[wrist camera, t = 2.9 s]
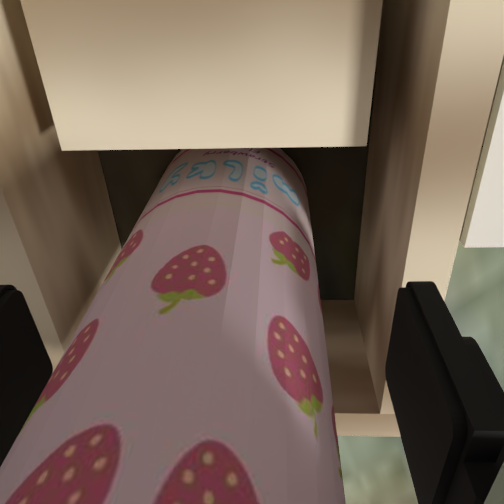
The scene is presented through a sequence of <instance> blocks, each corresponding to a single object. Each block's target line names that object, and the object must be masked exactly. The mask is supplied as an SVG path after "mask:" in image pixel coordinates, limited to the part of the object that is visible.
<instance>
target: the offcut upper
mask: <svg viewBox="0 0 504 504" xmlns="http://www.w3.org/2000/svg"><path fill="white" fill-rule="evenodd" d="M20 1H21V5H22V9H23V12H24V16H25V20H26V23H27V27H28V30H29V34H30V38H31V41H32V45H33V48H34V52H35V56H36V59H37V63H38V66H39V70H40V74H41V77H42V81H43V84H44V88H45V92H46V95H47V99H48V103H49V106H50V110H51V113H52V117H53V121H54V124H55V128H56V131H57V135H58V139H59V142H60V146H61V149H62V151H71V150H142V149H212V148H283V147H353V146H367V138H368V129H369V120H370V111H371V102H372V93H373V84H374V75H375V66H376V57H377V49H378V40H379V31H380V22H381V13H382V4H383V0H20Z"/></svg>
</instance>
